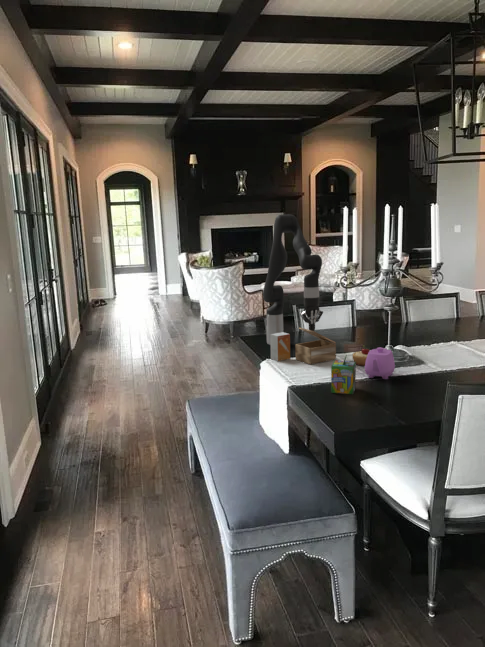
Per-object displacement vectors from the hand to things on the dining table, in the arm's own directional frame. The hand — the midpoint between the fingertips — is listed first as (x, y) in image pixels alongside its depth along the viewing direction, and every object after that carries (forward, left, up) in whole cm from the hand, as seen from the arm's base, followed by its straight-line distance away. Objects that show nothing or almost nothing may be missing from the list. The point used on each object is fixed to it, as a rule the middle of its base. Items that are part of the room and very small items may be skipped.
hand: (311, 330), depth 260 cm
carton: (0, +2, -15) cm, 15 cm away
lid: (0, +3, -3) cm, 4 cm away
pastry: (+20, +16, -15) cm, 30 cm away
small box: (-12, -11, -15) cm, 22 cm away
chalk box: (+45, -19, -15) cm, 51 cm away
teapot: (+39, +7, -15) cm, 42 cm away
